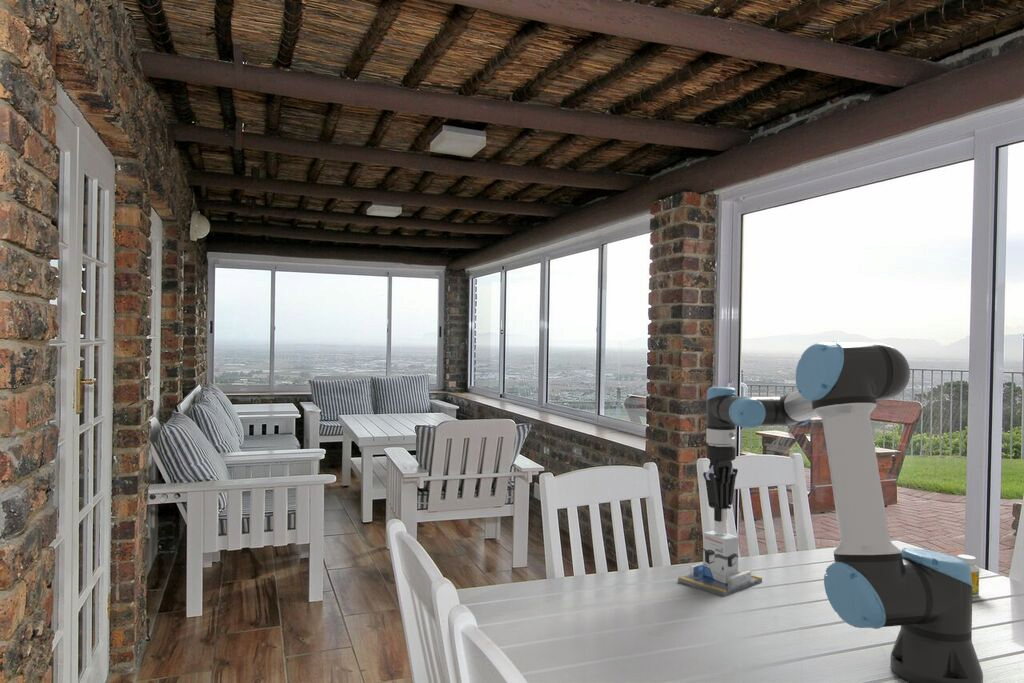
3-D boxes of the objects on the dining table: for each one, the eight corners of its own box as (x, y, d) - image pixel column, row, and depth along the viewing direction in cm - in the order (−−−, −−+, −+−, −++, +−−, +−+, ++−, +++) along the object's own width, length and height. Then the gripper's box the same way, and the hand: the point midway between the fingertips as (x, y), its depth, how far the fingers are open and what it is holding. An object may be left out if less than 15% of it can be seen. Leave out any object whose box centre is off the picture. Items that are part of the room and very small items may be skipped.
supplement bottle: (952, 589, 183) (952, 552, 183) (976, 592, 181) (976, 555, 181) (956, 595, 178) (956, 558, 178) (981, 599, 176) (981, 560, 176)
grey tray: (723, 596, 175) (724, 582, 176) (677, 582, 186) (677, 568, 186) (762, 581, 187) (762, 568, 187) (716, 569, 198) (716, 556, 198)
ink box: (701, 574, 189) (702, 531, 189) (715, 572, 192) (716, 529, 192) (724, 584, 182) (725, 539, 182) (738, 581, 184) (739, 536, 184)
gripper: (719, 448, 180) (718, 539, 180) (746, 444, 189) (746, 531, 188) (694, 444, 186) (694, 533, 185) (722, 441, 194) (722, 526, 194)
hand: (720, 532), depth 187 cm, fingers closed
